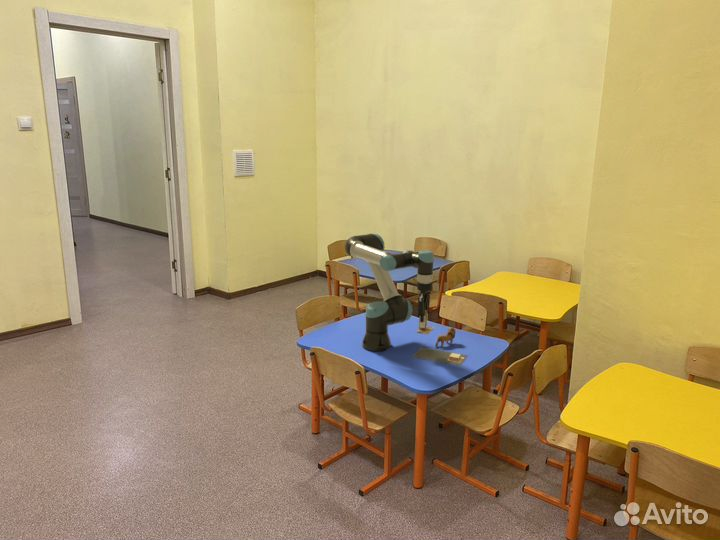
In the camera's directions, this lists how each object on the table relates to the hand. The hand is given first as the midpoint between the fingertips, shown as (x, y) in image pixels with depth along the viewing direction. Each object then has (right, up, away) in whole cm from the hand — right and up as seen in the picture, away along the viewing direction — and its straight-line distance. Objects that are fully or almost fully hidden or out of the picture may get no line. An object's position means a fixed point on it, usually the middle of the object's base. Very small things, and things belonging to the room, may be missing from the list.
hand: (423, 326), depth 271 cm
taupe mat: (+9, -16, 0) cm, 18 cm away
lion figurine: (+14, -12, +15) cm, 24 cm away
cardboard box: (+1, -2, 0) cm, 3 cm away
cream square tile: (+15, -16, -3) cm, 22 cm away
